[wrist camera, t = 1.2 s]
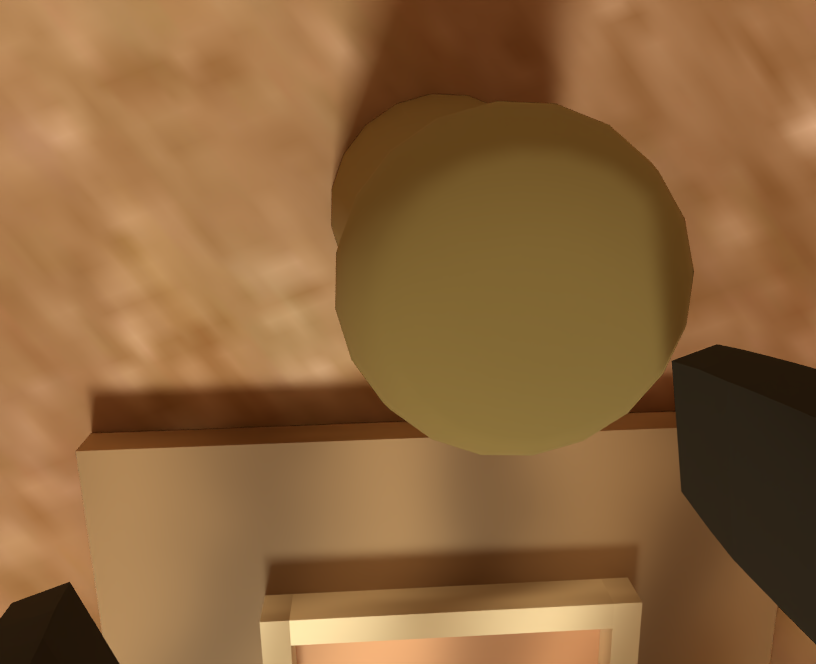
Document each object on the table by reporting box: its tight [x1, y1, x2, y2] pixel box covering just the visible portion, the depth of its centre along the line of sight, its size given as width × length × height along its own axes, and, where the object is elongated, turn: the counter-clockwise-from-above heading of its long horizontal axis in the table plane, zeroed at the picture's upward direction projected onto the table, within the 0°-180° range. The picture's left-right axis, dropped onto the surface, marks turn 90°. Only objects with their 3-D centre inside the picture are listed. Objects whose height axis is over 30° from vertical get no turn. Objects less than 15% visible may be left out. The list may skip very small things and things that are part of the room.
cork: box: [331, 94, 694, 456], centre depth 15 cm, size 6×6×11 cm
